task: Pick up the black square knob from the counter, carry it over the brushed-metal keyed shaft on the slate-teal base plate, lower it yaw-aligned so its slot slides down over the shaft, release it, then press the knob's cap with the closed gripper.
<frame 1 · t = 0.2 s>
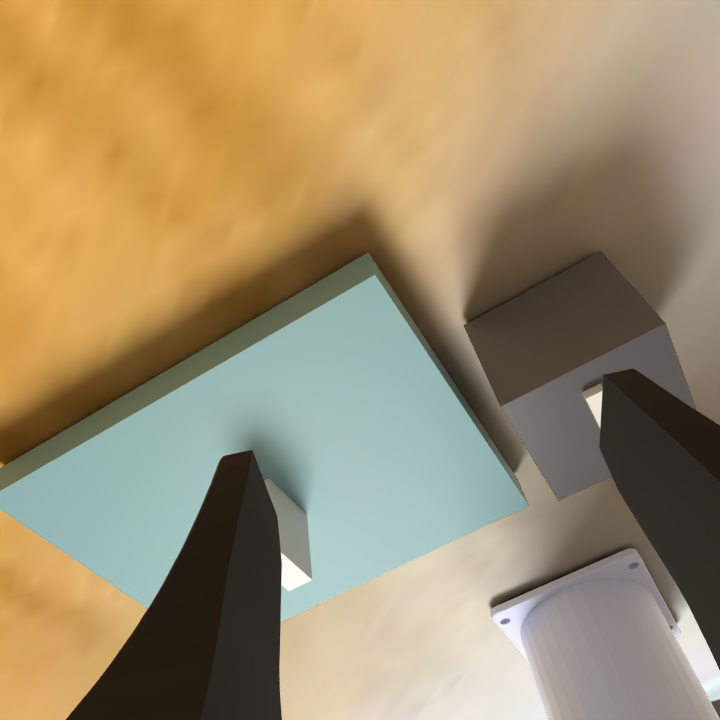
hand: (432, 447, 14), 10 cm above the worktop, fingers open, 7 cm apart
knob: (555, 340, 25), on the worktop
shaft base: (276, 474, 27), on the worktop
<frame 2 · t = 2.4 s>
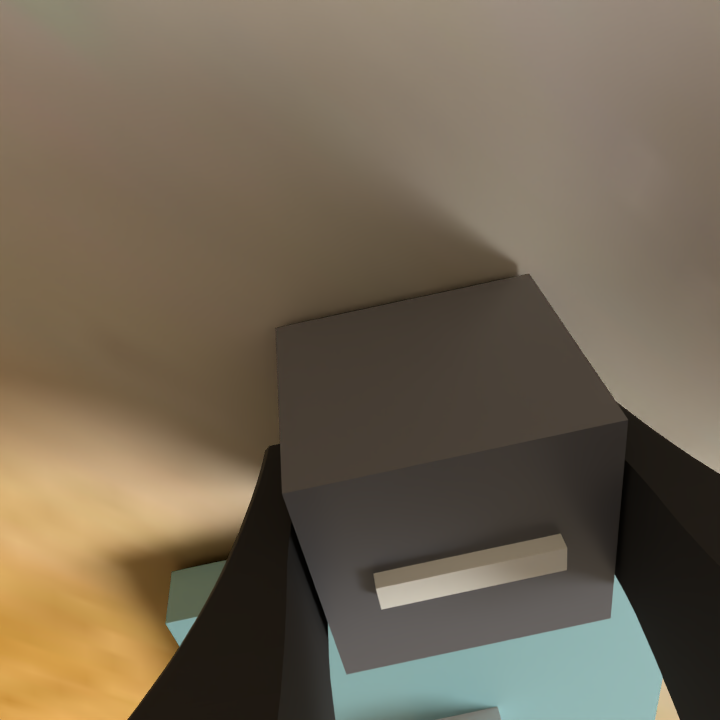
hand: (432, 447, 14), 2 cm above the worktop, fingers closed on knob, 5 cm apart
knob: (417, 398, 15), on the worktop, touching gripper
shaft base: (446, 676, 22), on the worktop
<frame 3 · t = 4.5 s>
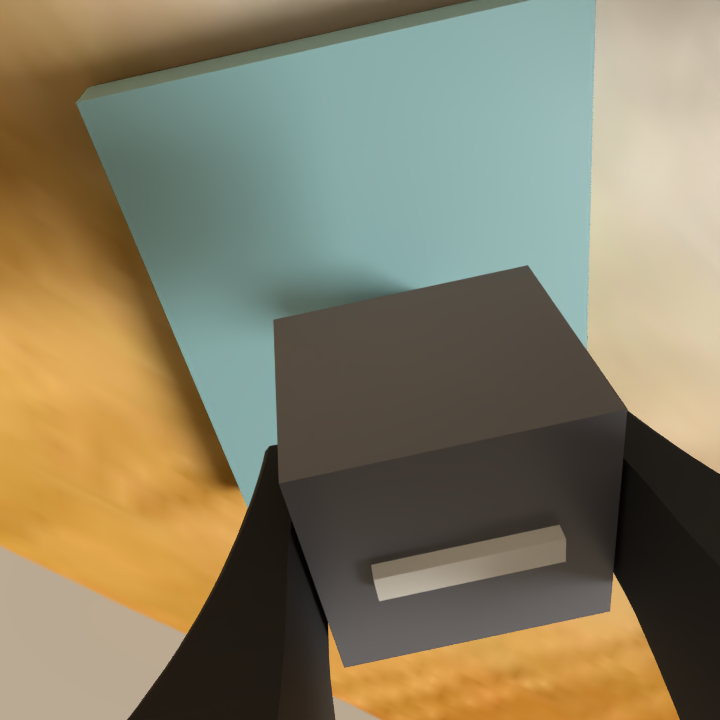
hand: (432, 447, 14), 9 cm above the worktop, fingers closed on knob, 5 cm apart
knob: (416, 391, 15), point 8 cm above the worktop, touching gripper
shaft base: (379, 291, 22), on the worktop
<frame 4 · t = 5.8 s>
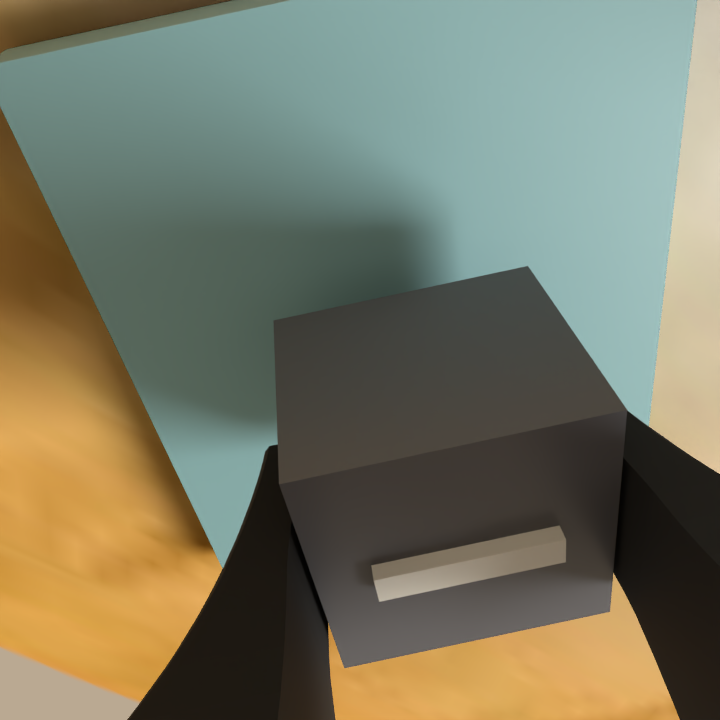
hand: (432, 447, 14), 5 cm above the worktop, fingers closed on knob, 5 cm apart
knob: (416, 391, 15), point 3 cm above the worktop, touching gripper
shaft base: (393, 319, 18), on the worktop
when the fingers open (4 cm above the worktop, at t = 6.7 s): knob stays where it is, resting on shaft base.
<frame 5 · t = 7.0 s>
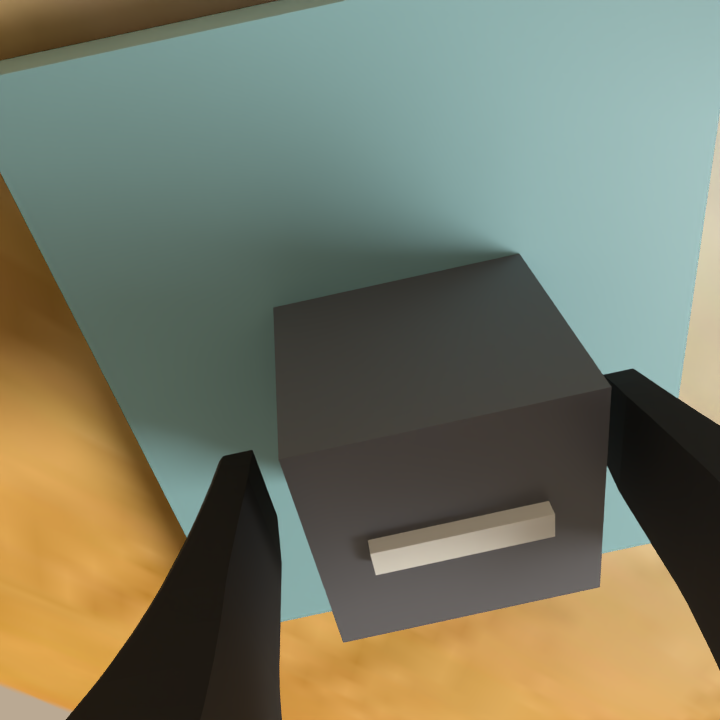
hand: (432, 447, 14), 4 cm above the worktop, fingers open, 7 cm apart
knob: (412, 377, 15), point 1 cm above the worktop, touching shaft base
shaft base: (401, 345, 17), on the worktop
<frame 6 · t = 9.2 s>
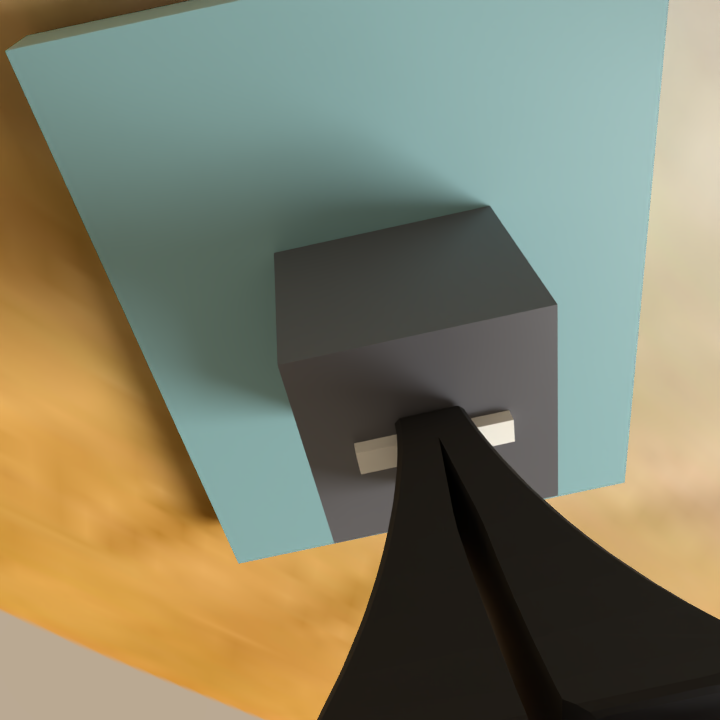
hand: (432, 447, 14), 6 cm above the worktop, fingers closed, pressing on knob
knob: (397, 319, 17), point 1 cm above the worktop, touching gripper, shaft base
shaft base: (389, 295, 19), on the worktop
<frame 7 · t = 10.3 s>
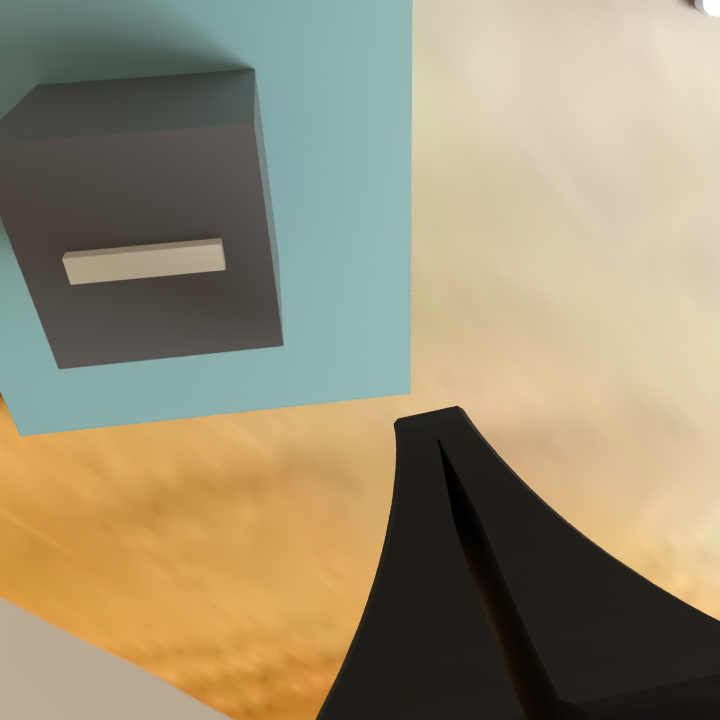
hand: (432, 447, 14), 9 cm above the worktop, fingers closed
knob: (169, 180, 18), point 1 cm above the worktop, touching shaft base
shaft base: (176, 166, 19), on the worktop
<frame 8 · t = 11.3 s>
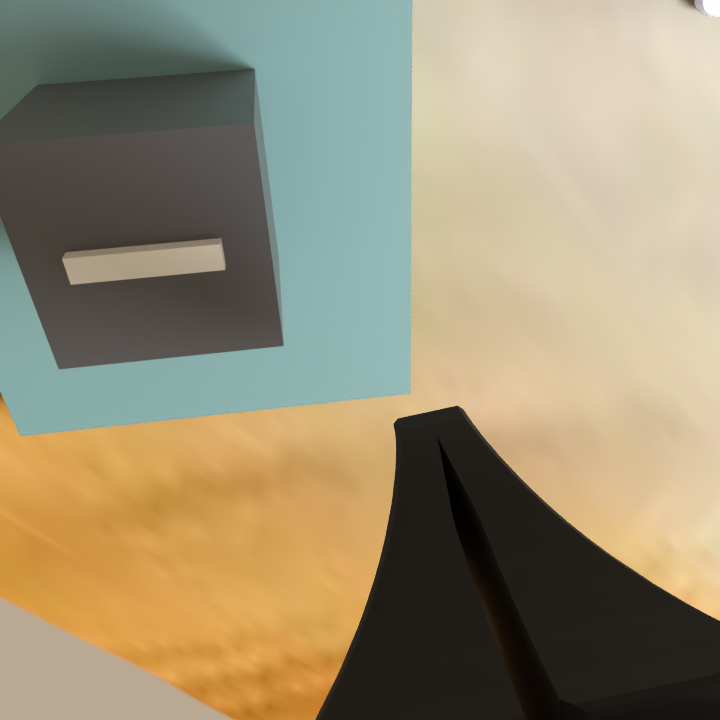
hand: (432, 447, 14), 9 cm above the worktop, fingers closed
knob: (169, 180, 18), point 1 cm above the worktop, touching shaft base
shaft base: (176, 166, 19), on the worktop
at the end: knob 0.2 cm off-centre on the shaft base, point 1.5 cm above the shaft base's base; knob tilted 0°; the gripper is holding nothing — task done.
